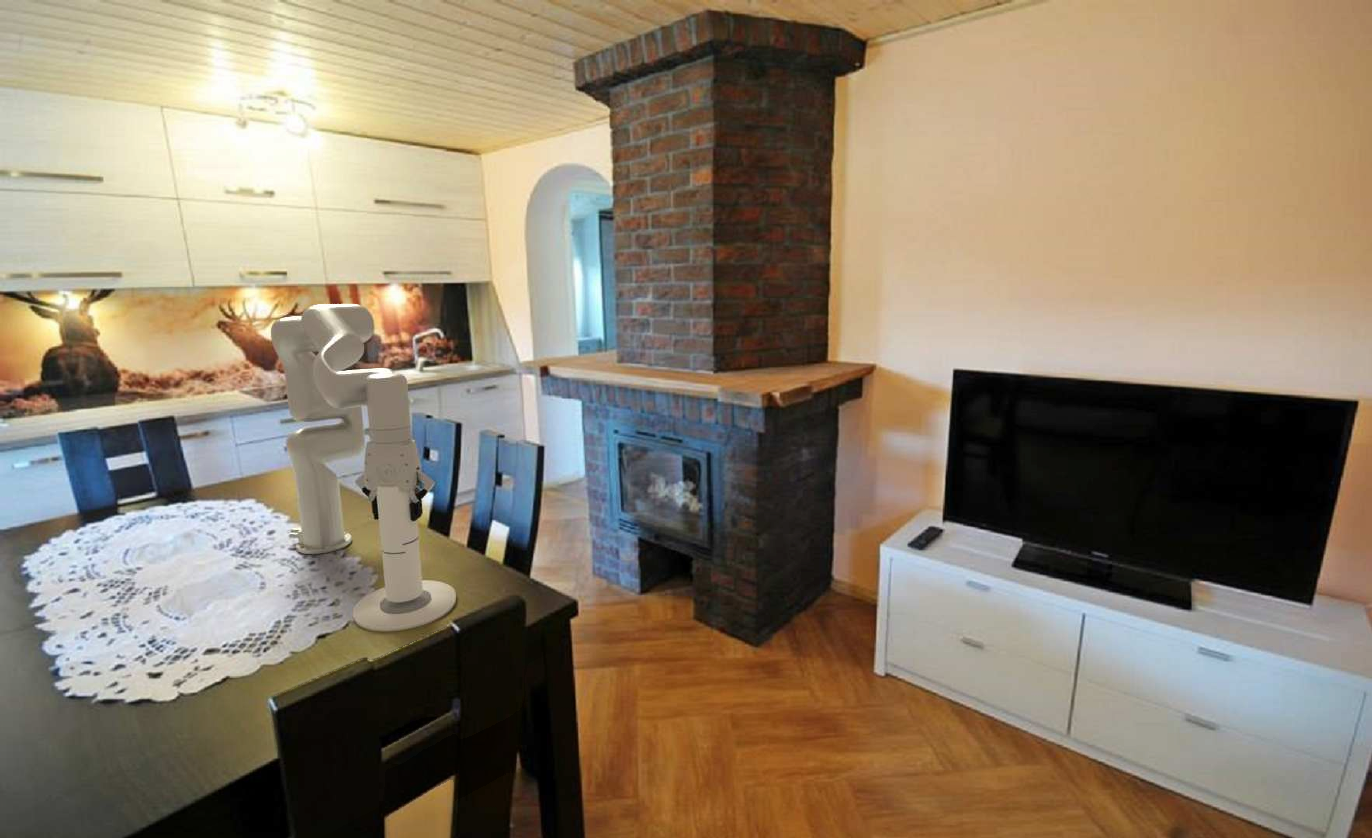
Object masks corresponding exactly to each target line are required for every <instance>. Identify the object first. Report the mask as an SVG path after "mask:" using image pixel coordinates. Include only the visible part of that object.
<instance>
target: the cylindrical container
mask: <svg viewBox="0 0 1372 838" xmlns="http://www.w3.org/2000/svg"><path fill="white" fill-rule="evenodd" d="M376 494H377V505H378V516H379V519H378V525H379V535H380V547H381V557H382V566H383V579H384V587H385V591H386V599H387V600H388V601H391V602H406V601H410V600H413V599H415V598H417V597H419V596H420V595H421V594H422V592H423V588H422V580H423V577H422V565H421V552H420V551H421V550H420V538H419V527H418V519H417V520H416V521H412V520H411V513H410V503H411V502H412V500H411V498H410V496H409V495H408V492H400V491H399V487H391V486H377V491H376Z"/></svg>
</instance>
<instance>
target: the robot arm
mask: <svg viewBox="0 0 1372 838" xmlns="http://www.w3.org/2000/svg"><path fill="white" fill-rule="evenodd" d="M374 331H375V321H374V318H373V316H372V314H371V312H370V310H369V309H367V308H366V307H365V306H363V305H361V304H357V303H356V304H355V303H341V304H339V303H337V304H335V303H334V304H333V303H332V304H330V303H329V304H328V303H327V304H326V303H324V304H316V305H313V306H312V305H311V306H310V307H308V308H306V309H305V310H304V311H303V313H302V314H301V315H300V316H299V315H298V316H288V317H283V318H279V319H277V320H275V321H274V322H273V323H272V325H271V328H270V338H271V343H272V346H273V349H274V351H275V352H276V355H277V356H278V359H279V361H280V362H281V366H282V367H283V372H284V381H285V388H286V395H287V396H286V397H287V403H288V409H289V413H290V416H291V418H292V419H293V420H294V421H295V422H298V423H306V424H308V423H315V422H316V423H317V422H318V423H319V422H323V421H332V420H337V419H338V420H339V421H340V422H339V423H330V424H323V425H314V426H310V427H309V426H308V427H302V428H300V429H297V430H294V431H293V432H291V433H290V434H289V435H288V436H287V438H286V440H285V441H286V442H285V445H286V446H285V447H286V451H287V454H288V458H289V460H290V465H291V468H292V470H293V471H292V472H293V477H294V483H295V490H296V497H297V498H296V499H297V506H298V515H299V523H300V527H292V528H291V529H290V532H289V534H288V537H289V538H290V539H297V540H298V542H297V543H296V545H295V547H296V551H297V552H298V553H300V554H305V555H319V554H326V553H327V554H328V553H331V552H334V551H338V550H340V549H342V548H345V547H347V546H348V545H349V544H351V543H352V541H353V539H352V534H350V533H349V532H347V531H345V528H344V527H345V526H344V519H343V518H344V517H343V509H342V508H343V507H342V499H341V492H340V491H341V489H340V482H339V477H338V475H337V474H336V473H335V471H333V470H332V469H330V468H329V467H328V466H327V465H326V464H327V463H331V462H336V461H341V460H347V459H351V458H356V457H359V456H360V455H362V454H363V452H364V459H363V460H364V463H363V464H364V467H363V468H364V469H363V471H364V472H363V474H361V475H360V476H359V477H358V478H356V479H355V485H357V487H358V488H359V489H361V491H362V493H363V494H364V495H365V496H366V497H367V499H368V501H369V502H371V511H372V515H373V520H375V521H377V520H378V521H379V516H378V505H377V494H376V491H377V486H391V487H399V491H400V492H408V495H409V496H410V498H411V500H412V502H411V503H410V513H411V520H412V521H416V520H417V521H418V519H420V518H421V517H422V515H423V513H424V512H423V499H424V498H425V497H426V495H428V493H429V492H430V491H431V490H432V488H433V487H434V486H435V484H436V482H435V480H433V478H431V477H429V476H428V475H426V473H424V472H423V471H422V463H421V457H420V454H419V450H418V447H417V444H416V440H415V439H412V437H413V436H412V428H411V427H412V424H411V413H410V402H409V401H410V400H409V387H408V380H407V377H406V376H405V375H403V374H402V373H399V372H396V371H394V370H393V369H391V368H386V367H377V368H376V367H375V368H365V369H352V370H346V369H347V368H350V367H352V366H353V365H355V364H356V363H357V362H358V361H359V360H360V359H361V358H362V356H363V355H364V351H365V344H364V343H366V342H367V341H368V340H370V339H371V338H372V336H373V334H374ZM315 352H317V354H315ZM362 407H367V419H368V428H365V427H364V419H363V409H362ZM364 428H365V429H364ZM365 436H368V437H369V441H367V442H366V441H365ZM365 442H366V443H365ZM365 444H366V445H365ZM422 484H423V487H422V488H420V486H421V485H422Z"/></svg>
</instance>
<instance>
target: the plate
mask: <svg viewBox="0 0 1372 838" xmlns="http://www.w3.org/2000/svg"><path fill="white" fill-rule="evenodd" d="M422 588H423V592H422V594H421V595H420V596H419V597H417V598H415V599H413V600H410V601H406V602H391V601H388V600H387V599H386V591H385V586H384V587H382V588H379V589H377V590H374V591H373V592H371V593H369V594H367V595H366V596H364V597H362V598H361V599H360V600H359V601H358V602H357V603H356V604H355V606H354V608H353V611H352V615H353V621H354V623H355V624H356V625H357V626H358V627H360V628H362V629H363V630H367V631H373V632H381V633H382V632H383V633H385V632H389V633H390V632H399V631H406V630H411V629H414V628H415V629H416V628H419V627H422V626H425V625H427V624H430V623H432V622H435V621H436V620H438V619H440V618H442V617H443V616H446V615H447V614H448V613H449V612H450V611H451V610H452V609H453V608H454V606H455V605H456V601H457V594H456V590H455V588H453V587H452V586H451V585H449V584H448V583H446V582H442V581H439V580H438V581H437V580H428V579H427V580H425V579H422Z"/></svg>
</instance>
